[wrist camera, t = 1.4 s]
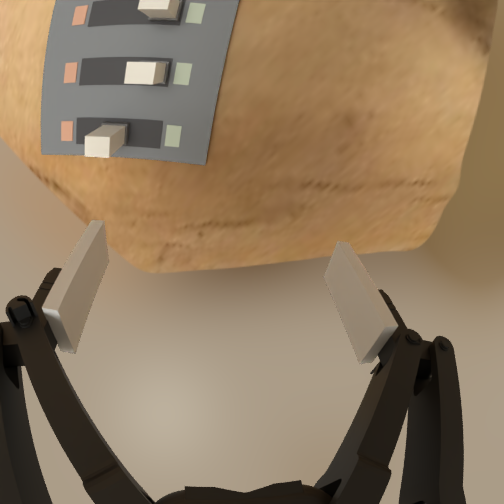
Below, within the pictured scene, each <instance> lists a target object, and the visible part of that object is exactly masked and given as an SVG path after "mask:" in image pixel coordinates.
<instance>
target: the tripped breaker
mask: <svg viewBox="0 0 504 504" xmlns="http://www.w3.org/2000/svg"><path fill="white" fill-rule="evenodd" d="M128 136H129V123H128V122H103V123H102V126H101V127H99V128H98V129H96V130H94V131H93V132H91V133H89V134H88V135H86V136H85V157H105V158H109V157H110V156H111V155H112V154H113V153H115V152H116V151H117V150H118V149H119V148H120V147H121V146H122V145H127V144H128Z"/></svg>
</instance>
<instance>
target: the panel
mask: <svg viewBox="0 0 504 504" xmlns="http://www.w3.org/2000/svg"><path fill="white" fill-rule="evenodd" d="M139 1H140V0H56V2H55V6H54V10H53V15H52V19H51V24H50V30H49V35H48V41H47V48H46V55H45V63H44V73H43V84H42V101H41V152H42V155H85V136H86V135H88V134H89V133H91V132H93V131H94V130H96V129H98V128H99V127H101V126H102V123H103V122H128V123H129V136H128V144H127V145H122V146H121V147H120V148H119V149H118V150H117V151H116V152H115V153H113V154H112V155H111V156H110V157H124V158H138V159H150V160H161V161H171V162H181V163H189V164H198V165H205V164H206V158H207V152H208V146H209V140H210V134H211V128H212V123H213V117H214V112H215V107H216V101H217V96H218V91H219V86H220V81H221V76H222V72H223V67H224V62H225V58H226V53H227V49H228V44H229V40H230V36H231V32H232V27H233V23H234V19H235V15H236V11H237V7H238V4H239V0H183V5H182V9H181V13H180V17H179V21H178V22H175V21H150V20H148V17H149V16H147V15H146V14H144V13H143V12H141V11H140V10H138V5H139ZM140 60H145V61H166V62H170V65H169V71H168V76H167V82H166V84H159V83H157V84H153V85H150V84H124V80H125V73H126V66H127V62H140Z"/></svg>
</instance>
